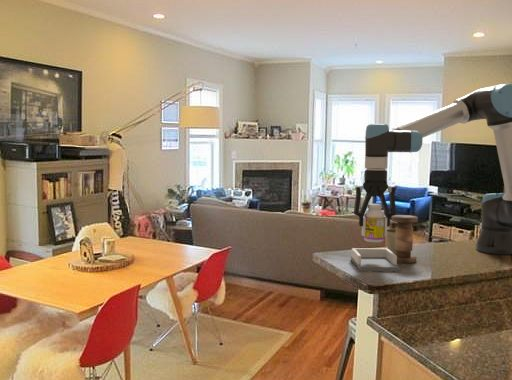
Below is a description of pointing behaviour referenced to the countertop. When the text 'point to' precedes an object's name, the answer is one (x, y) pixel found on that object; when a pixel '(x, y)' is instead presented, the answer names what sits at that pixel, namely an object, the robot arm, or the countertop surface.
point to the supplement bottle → (374, 224)
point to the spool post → (404, 238)
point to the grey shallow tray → (375, 259)
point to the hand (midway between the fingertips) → (374, 235)
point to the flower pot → (391, 240)
